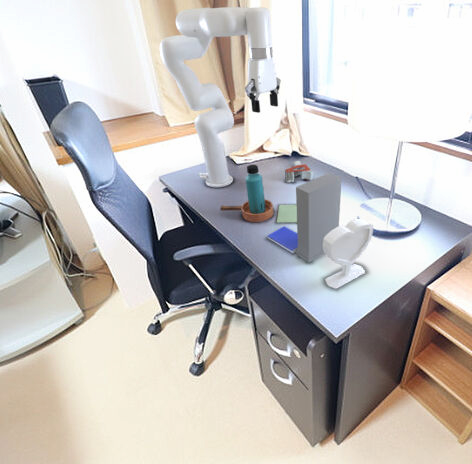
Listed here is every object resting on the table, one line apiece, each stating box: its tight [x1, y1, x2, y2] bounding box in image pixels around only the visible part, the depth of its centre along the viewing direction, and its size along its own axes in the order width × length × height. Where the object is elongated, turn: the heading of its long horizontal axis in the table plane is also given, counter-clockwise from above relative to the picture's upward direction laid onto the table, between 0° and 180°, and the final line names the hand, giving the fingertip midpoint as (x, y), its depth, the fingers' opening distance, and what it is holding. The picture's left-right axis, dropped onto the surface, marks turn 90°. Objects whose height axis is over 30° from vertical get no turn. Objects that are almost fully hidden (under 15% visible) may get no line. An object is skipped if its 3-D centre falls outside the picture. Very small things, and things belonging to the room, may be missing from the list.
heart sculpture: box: [323, 218, 374, 289], centre depth 91 cm, size 16×5×18 cm, turn 125°
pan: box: [240, 198, 274, 223], centre depth 125 cm, size 12×12×4 cm
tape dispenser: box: [284, 160, 315, 183], centre depth 153 cm, size 18×5×20 cm
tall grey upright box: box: [295, 172, 342, 263], centre depth 99 cm, size 14×6×25 cm, turn 133°
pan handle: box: [220, 205, 242, 211], centre depth 125 cm, size 8×2×1 cm, turn 89°
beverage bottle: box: [244, 164, 266, 214], centre depth 120 cm, size 6×7×20 cm
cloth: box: [276, 204, 297, 224], centre depth 126 cm, size 10×13×1 cm
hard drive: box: [267, 226, 298, 254], centre depth 111 cm, size 2×8×12 cm
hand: (265, 108), depth 113 cm, fingers open, 9 cm apart
